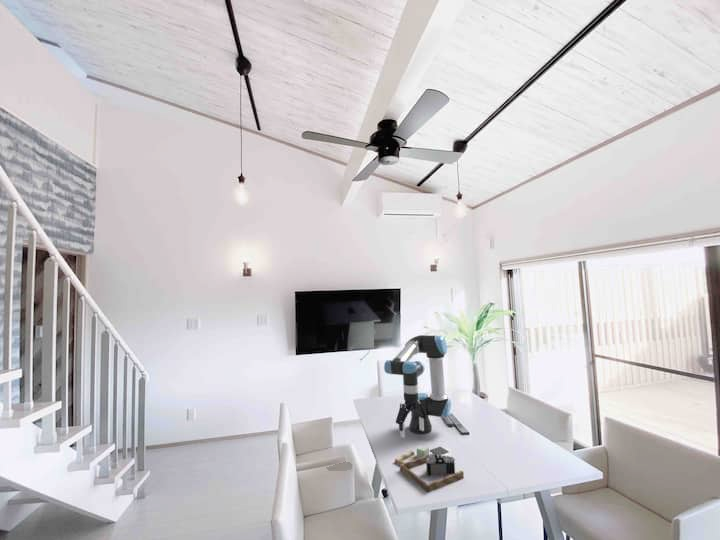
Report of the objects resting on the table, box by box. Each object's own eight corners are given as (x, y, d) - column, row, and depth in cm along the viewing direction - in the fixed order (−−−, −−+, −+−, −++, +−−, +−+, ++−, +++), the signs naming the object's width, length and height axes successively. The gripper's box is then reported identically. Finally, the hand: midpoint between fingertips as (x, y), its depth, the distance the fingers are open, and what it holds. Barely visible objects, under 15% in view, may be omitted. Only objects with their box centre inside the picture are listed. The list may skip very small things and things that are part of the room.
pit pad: (440, 447, 200) (440, 446, 200) (448, 452, 194) (448, 451, 194) (429, 450, 196) (429, 449, 196) (437, 455, 190) (437, 454, 190)
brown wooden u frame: (434, 458, 187) (433, 453, 187) (463, 477, 167) (463, 471, 168) (400, 470, 176) (400, 464, 176) (427, 492, 156) (427, 486, 157)
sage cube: (421, 454, 193) (421, 445, 193) (429, 456, 190) (428, 447, 190) (417, 457, 189) (416, 448, 189) (424, 460, 186) (424, 451, 186)
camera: (452, 466, 178) (451, 447, 179) (457, 476, 169) (456, 456, 170) (423, 468, 178) (422, 448, 179) (427, 477, 169) (426, 457, 170)
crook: (412, 454, 193) (411, 450, 193) (420, 458, 188) (420, 455, 188) (394, 462, 184) (394, 459, 185) (403, 467, 179) (403, 464, 179)
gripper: (422, 386, 185) (424, 425, 184) (387, 395, 171) (389, 437, 170) (432, 389, 179) (434, 429, 178) (397, 398, 165) (399, 442, 164)
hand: (412, 433), depth 174 cm, fingers open, 13 cm apart
